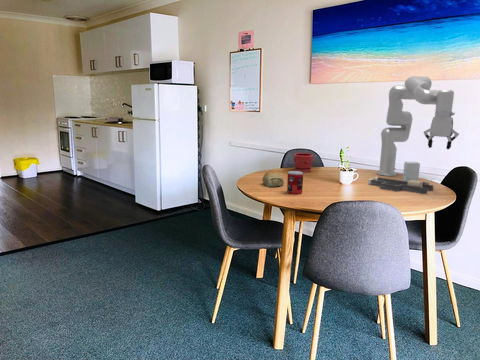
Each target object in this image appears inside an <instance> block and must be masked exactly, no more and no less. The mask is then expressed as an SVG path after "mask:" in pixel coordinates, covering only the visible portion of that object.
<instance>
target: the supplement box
mask: <svg viewBox="0 0 480 360" xmlns="http://www.w3.org/2000/svg"><path fill="white" fill-rule="evenodd" d="M420 166H421V162H418V161H407V160H406V161H404V164H403V174H402V181H406V182H408V181H410V180H416V181H419V176H420V169H421V167H420Z"/></svg>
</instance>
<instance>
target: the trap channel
mask: <svg viewBox="0 0 480 360" xmlns="http://www.w3.org/2000/svg"><path fill="white" fill-rule="evenodd" d="M422 182H423V184H422V187H416V186H410V185H407V184H408V182H406V181H403V180H399V179H393V178H392V179H391V178H386V177H380V176H379V177H378V176H375V177H373V178H369V179H368V185H370V186H376V187H379V189H380V190H381V189H382V190H387V191H391V190H392V191H393V192H397V191H398V192H400V191H407V192H411V193H416V194H417V193H418V194H423V195H424V194H425V195H427V194H428V192H433V191H434V185H433V184H432V185H431V184H430V183H429V182H424V181H422ZM390 184H391V185H390Z"/></svg>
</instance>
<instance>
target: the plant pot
mask: <svg viewBox="0 0 480 360" xmlns="http://www.w3.org/2000/svg"><path fill="white" fill-rule="evenodd" d="M313 161H314V155H313V154H312V153H308V152H298V153H294V154H293V162H294V163H293V164H294V171H300V172H303V173H308V172H309V173H310V171H312V168H311V167H312V165H313Z"/></svg>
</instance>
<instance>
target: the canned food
mask: <svg viewBox="0 0 480 360" xmlns="http://www.w3.org/2000/svg"><path fill="white" fill-rule="evenodd" d="M286 183H287V184H286V186H287V187H286V192H287V193H288V194H290V195H301V194H302V193H303V188H304V187H303V186H304V172H300V171H296V170H289V171H287V182H286Z"/></svg>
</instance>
